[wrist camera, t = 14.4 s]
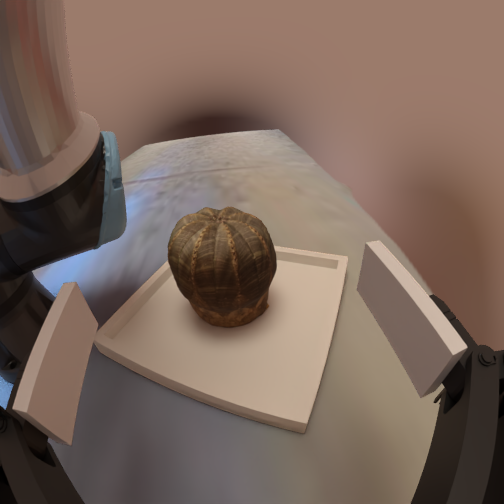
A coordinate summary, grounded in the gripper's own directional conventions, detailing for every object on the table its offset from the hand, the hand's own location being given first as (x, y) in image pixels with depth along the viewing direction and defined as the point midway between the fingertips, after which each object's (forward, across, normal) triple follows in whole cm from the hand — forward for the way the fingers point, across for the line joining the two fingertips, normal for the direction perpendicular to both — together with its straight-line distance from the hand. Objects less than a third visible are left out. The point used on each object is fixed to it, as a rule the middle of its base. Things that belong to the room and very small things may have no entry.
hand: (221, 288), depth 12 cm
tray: (+15, 0, -16) cm, 22 cm away
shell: (+14, 0, -16) cm, 21 cm away
